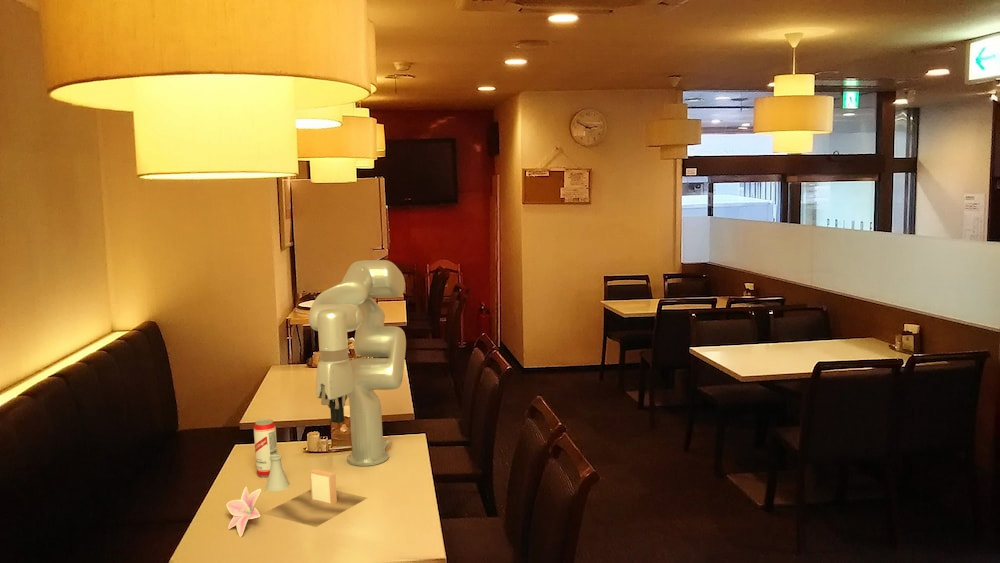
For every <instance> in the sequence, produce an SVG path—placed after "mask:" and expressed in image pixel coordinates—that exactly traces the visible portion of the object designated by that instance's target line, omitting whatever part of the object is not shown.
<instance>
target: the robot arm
mask: <svg viewBox="0 0 1000 563" xmlns="http://www.w3.org/2000/svg"><path fill="white" fill-rule="evenodd" d="M405 282H406V281H405V277H404V275H403V273H402V271H401V269H399V268H398V266H397V265H396V264H395V263H394V262H392V261H390V260H385V259H370V260H369V259H368V260H366V259H365V260H357V261H355V262H353V263H351V265H350V266H349V267H348V269H347V271H346V273H345V275H344V276H343V278H342V280H341V282H339V283H337V284H336V285H333V286H332V287H330V288H327V289H326V290H324V291H322V292H320V294H318V295H317V296H316V297H315V299H314V301H313V303H312V305H311V307H310V309H309V312H308V324H309V326H310V328H311V329H312V330H313V331H316V332H318V333H317V335H318V337H317V338H318V348H319V350H318V351H319V361H318V363H317V368H316V379H315V380H316V381H315V386H316V388H315V390H316V397H317V398H318V399H321V400H320V405H322V406H327V407H328V408H329V409H330V422H331V423H335V424H341V423H344V422H345V410H344V408H345V406H346V401H347V400H348V402H349V403H348V404H349V420H350V421H349V422H350V439H351V453H349V454H348V455H347V457H346V459H347V460H346V461H347V462H348V464H350V465H353V466H359V467H360V466H361V467H367V466H368V467H369V466H374V465H380V464H382V463H384V462H386V461H387V460H389V455H390V454H389V452H388V451H386V448H387V447H388V446H391V445H392V442H393V441H392V439H390V438H387V439H385V440H384V439H383V438H384V436H383V435H384V434H383V433H384V432H383V418H382V415H383V414H382V402H381V399H380V397H379V396H378V394H377V393H376V391H387V390H388V391H391V390H396V389H397V390H398V389H399V388H400V387H401V385H402V382H403V377H404V370H405V360H406V359H405V358H406V352H407V351H406V350H407V349H406V348H407V339H406V334H405V331H404V330H403V329H402V327H399V326H395V325H394V326H392V325H389V326H385V318H386V314H385V312H384V310H383V308H382V307H381V306H380V305H379V304H378V302H376V301H375V299H374V298H379V299H380V298H382V299H384V298H385V299H386V298H387V299H388V298H389V299H390V298H398V297H400V296H402V295H403V294H404V291H405V286H406V283H405ZM353 331H355V333H354V340H353V342H354V343H353V349H354V352H355V353H356V355H358V356H360V357H359V358H353V359H351V360H350V357H349V342H348V333H349V332H353Z"/></svg>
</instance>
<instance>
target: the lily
mask: <svg viewBox="0 0 1000 563" xmlns="http://www.w3.org/2000/svg"><path fill="white" fill-rule="evenodd" d="M261 492H262V488H259V489H255V490H254V491H252V492H250V493H249V489H248V487H247V486H245V487H244V489H243V491H242V494H241V497H240V499H232V500H230V501H227V503H226V504H225V505H226V508H227V510H228V512H229V513H230V514H231V515H232V516H233V517H232V518H231V520H230V521H229V524H228V526H227V530H230V529H232V528H233V527H236V531H237V534H238V536H239V537H240V538H241V537H242V536H243V534H244V532H245V529H246V526H247V523H248V520H253V519H259V518H260V517H261V514H260V512H259V510H258V509H257V508H256V506H255V504H256V502H257V499H258V497H260V496H259V495H260V494H261Z"/></svg>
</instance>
